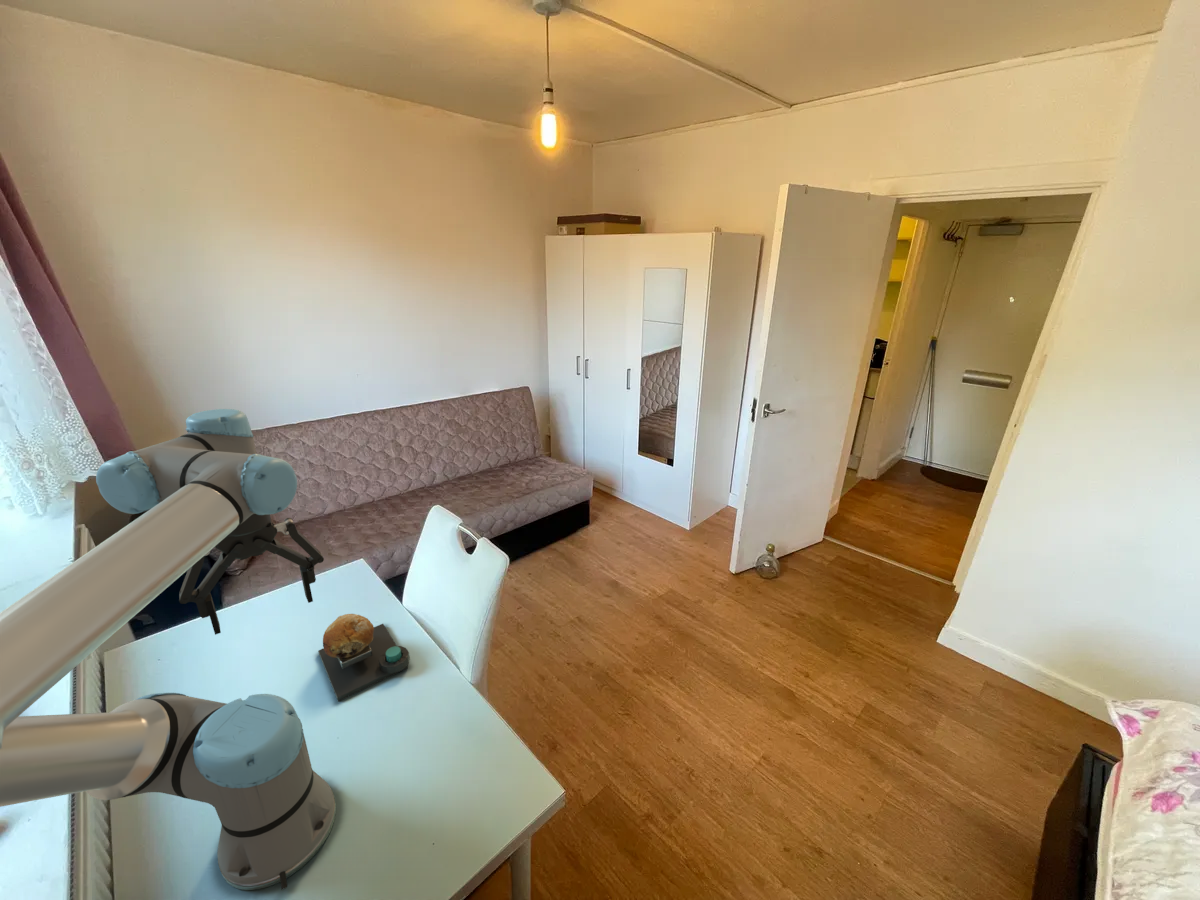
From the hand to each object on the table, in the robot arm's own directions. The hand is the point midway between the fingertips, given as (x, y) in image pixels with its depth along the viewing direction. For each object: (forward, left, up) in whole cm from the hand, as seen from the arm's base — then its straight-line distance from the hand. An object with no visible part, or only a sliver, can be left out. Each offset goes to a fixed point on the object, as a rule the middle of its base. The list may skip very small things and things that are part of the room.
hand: (265, 613), depth 86 cm
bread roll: (+8, -13, -20) cm, 25 cm away
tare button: (0, -19, -22) cm, 29 cm away
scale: (+6, -14, -25) cm, 29 cm away
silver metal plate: (+8, -13, -22) cm, 26 cm away
